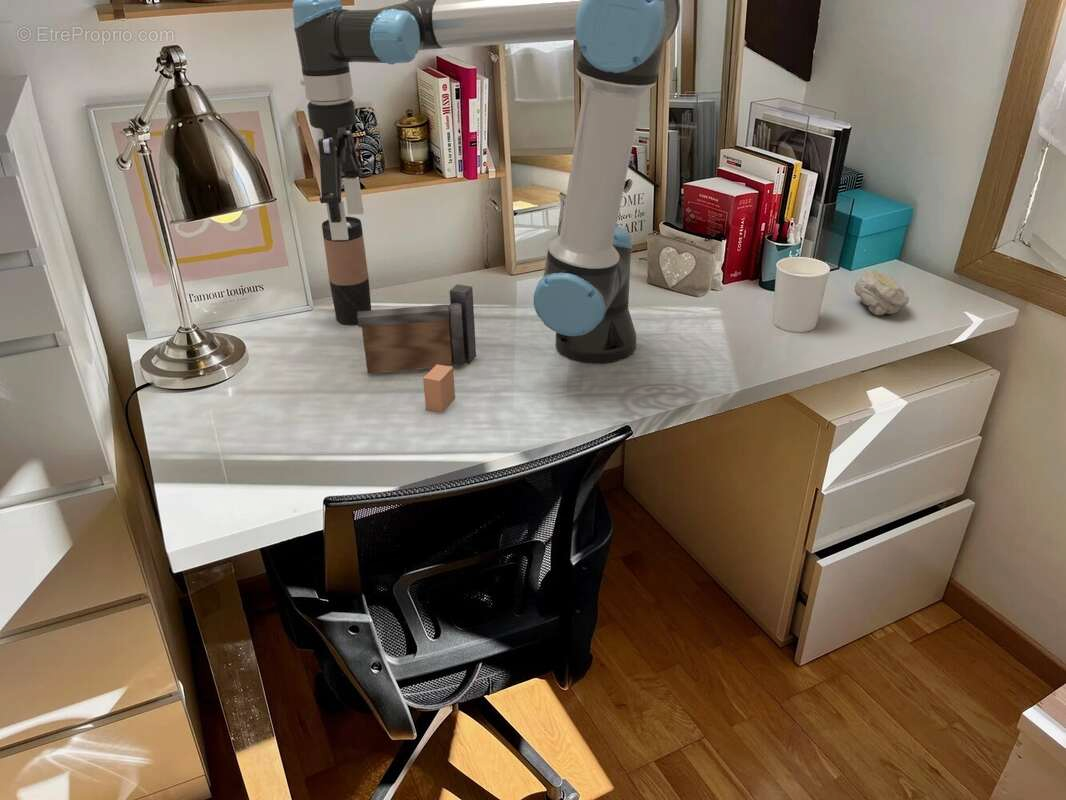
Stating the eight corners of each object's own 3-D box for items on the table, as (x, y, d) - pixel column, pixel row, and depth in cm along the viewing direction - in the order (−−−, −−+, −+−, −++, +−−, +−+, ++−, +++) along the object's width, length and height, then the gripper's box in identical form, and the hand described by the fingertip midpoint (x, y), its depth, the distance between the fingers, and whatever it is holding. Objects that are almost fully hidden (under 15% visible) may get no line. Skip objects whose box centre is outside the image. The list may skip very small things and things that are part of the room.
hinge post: (476, 356, 158) (472, 286, 151) (469, 364, 156) (465, 293, 149) (461, 354, 159) (456, 284, 152) (454, 361, 157) (449, 290, 150)
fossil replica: (874, 295, 180) (838, 308, 176) (877, 257, 176) (840, 270, 172) (921, 312, 170) (884, 326, 166) (925, 273, 166) (887, 286, 163)
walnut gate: (464, 358, 156) (460, 302, 150) (465, 365, 154) (461, 308, 148) (364, 367, 154) (357, 310, 148) (364, 374, 151) (357, 316, 146)
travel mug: (365, 327, 170) (352, 230, 160) (329, 324, 171) (314, 228, 161) (378, 311, 176) (367, 217, 166) (343, 308, 178) (330, 215, 167)
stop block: (455, 398, 145) (452, 367, 142) (442, 412, 141) (439, 381, 138) (439, 395, 146) (436, 364, 143) (426, 409, 142) (423, 378, 139)
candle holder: (764, 329, 166) (772, 272, 160) (772, 310, 174) (780, 254, 168) (817, 337, 163) (827, 278, 157) (822, 317, 170) (832, 260, 164)
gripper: (324, 86, 150) (341, 204, 161) (287, 117, 129) (310, 251, 139) (366, 85, 150) (381, 203, 161) (336, 116, 128) (356, 250, 139)
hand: (348, 226), depth 150 cm, fingers open, 13 cm apart
